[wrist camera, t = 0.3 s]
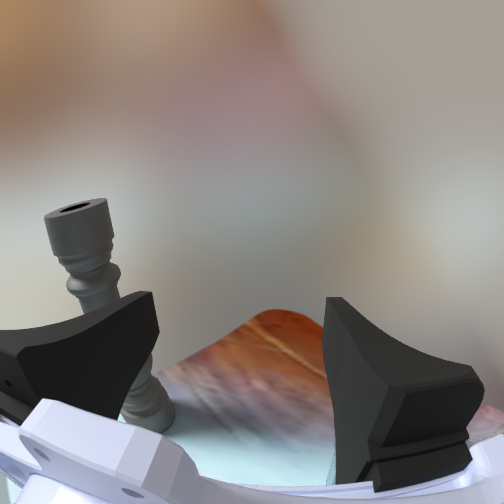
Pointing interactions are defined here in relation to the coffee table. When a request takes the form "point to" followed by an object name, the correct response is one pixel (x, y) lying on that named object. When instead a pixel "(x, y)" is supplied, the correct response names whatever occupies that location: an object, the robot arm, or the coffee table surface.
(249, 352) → the coffee table surface
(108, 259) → the candle holder
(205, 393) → the coffee table surface
